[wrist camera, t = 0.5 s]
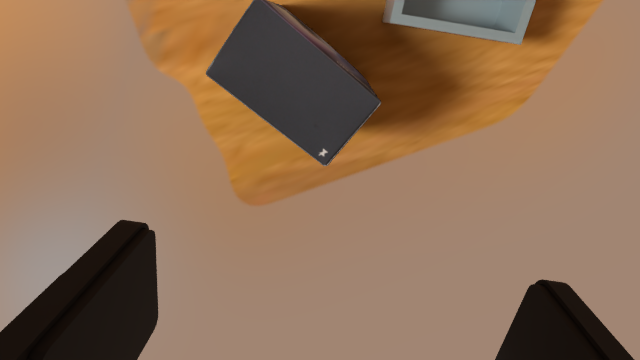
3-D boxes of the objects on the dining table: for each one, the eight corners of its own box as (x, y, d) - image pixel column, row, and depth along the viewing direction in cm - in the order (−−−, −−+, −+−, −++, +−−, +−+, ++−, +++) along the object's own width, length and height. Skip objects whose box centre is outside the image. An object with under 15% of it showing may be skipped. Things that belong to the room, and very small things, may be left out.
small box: (372, 79, 34) (388, 102, 25) (327, 132, 37) (325, 172, 27) (280, -1, 32) (257, -10, 22) (237, 61, 34) (200, 77, 25)
